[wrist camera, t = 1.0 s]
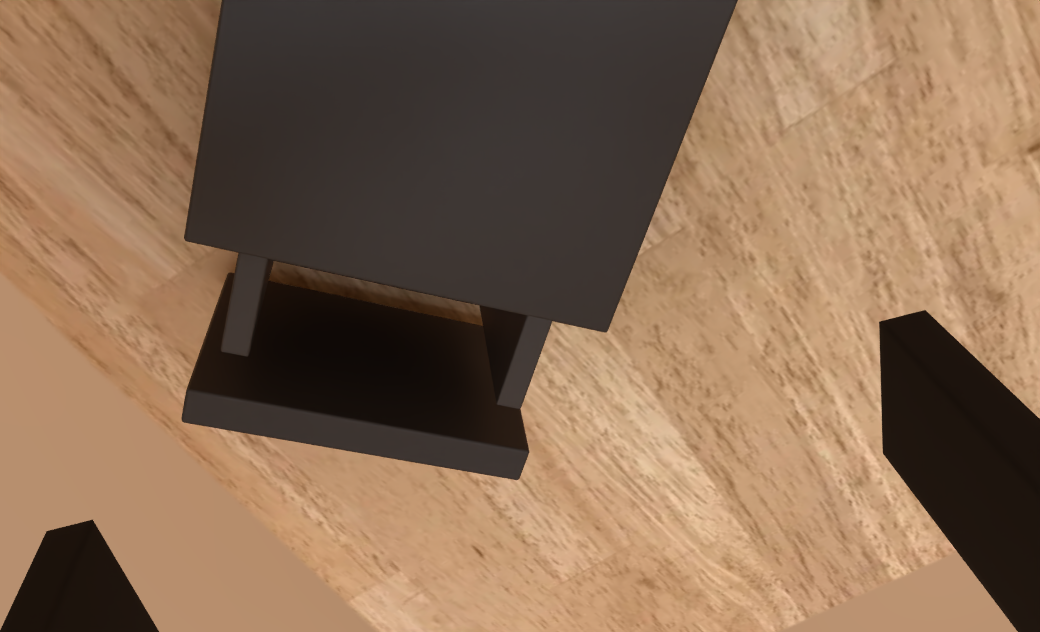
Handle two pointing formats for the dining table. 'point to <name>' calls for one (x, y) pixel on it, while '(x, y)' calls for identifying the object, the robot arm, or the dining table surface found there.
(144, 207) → the dining table surface
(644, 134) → the cabinet
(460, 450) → the drawer
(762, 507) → the dining table surface
